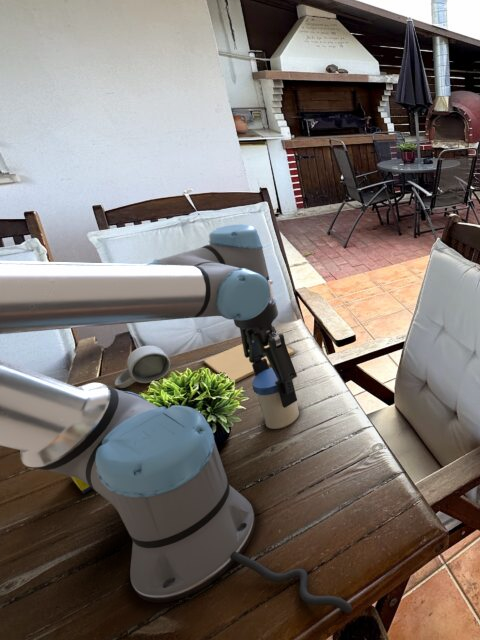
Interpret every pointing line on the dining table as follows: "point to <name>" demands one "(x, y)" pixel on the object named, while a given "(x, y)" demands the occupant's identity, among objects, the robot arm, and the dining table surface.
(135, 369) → the ceramic mug
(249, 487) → the dining table surface
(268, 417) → the jar
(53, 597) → the dining table surface
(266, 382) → the lid
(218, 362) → the mat
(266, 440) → the dining table surface
